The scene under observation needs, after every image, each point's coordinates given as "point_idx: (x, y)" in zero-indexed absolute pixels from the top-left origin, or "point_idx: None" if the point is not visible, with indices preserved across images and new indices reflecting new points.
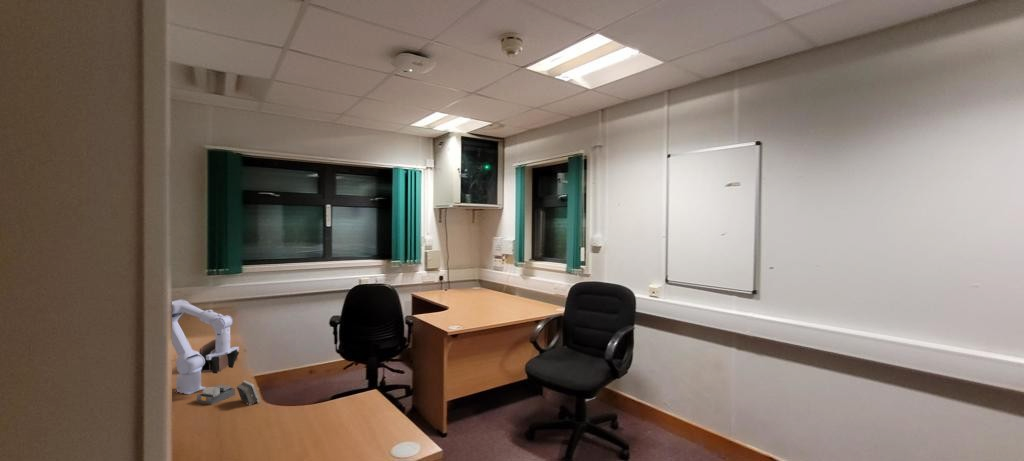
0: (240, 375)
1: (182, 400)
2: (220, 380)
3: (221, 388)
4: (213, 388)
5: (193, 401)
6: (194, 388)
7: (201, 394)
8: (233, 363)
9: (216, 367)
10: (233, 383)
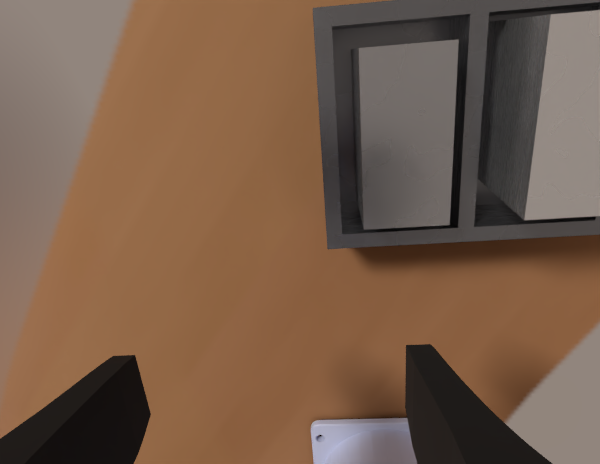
0: (18, 419)
1: (554, 358)
2: (162, 459)
3: (454, 84)
4: (584, 91)
5: (556, 257)
6: (405, 448)
7: (569, 220)
8: (71, 398)
9: (481, 417)
10: (143, 317)
